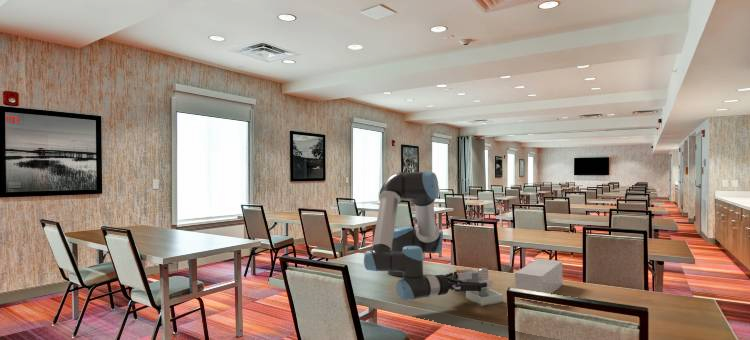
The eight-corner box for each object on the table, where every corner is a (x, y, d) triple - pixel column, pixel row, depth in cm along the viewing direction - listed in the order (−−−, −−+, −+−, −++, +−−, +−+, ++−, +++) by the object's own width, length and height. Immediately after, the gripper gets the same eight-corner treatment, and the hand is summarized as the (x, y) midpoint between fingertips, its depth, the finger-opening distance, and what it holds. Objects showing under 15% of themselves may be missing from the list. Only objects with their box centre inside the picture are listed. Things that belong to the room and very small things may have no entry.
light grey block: (538, 281, 203) (538, 258, 203) (562, 284, 197) (562, 261, 197) (515, 298, 177) (514, 272, 177) (542, 303, 171) (541, 276, 171)
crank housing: (454, 289, 192) (454, 269, 192) (470, 286, 195) (469, 267, 195) (463, 293, 185) (463, 272, 185) (479, 291, 188) (479, 270, 188)
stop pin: (477, 298, 176) (475, 268, 176) (485, 296, 178) (484, 267, 178) (483, 300, 173) (482, 270, 172) (491, 299, 174) (490, 269, 174)
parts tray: (466, 298, 178) (465, 291, 178) (486, 295, 182) (486, 288, 182) (481, 305, 169) (481, 298, 168) (503, 302, 172) (503, 294, 172)
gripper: (420, 287, 178) (463, 281, 186) (453, 304, 155) (501, 296, 163) (419, 268, 178) (463, 263, 186) (453, 283, 155) (501, 276, 163)
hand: (481, 279), depth 175 cm, fingers open, 13 cm apart
